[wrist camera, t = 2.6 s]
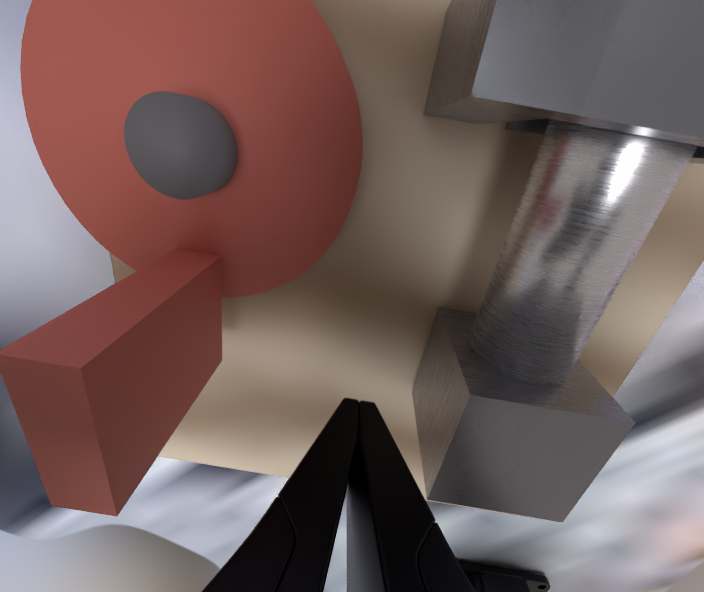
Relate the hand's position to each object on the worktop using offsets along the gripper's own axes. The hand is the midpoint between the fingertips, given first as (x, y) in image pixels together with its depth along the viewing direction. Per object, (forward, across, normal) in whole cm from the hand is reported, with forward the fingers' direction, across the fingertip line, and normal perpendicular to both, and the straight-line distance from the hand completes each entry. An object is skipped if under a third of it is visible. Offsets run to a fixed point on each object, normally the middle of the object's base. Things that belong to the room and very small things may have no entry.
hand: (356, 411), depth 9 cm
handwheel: (+4, +5, -4) cm, 8 cm away
